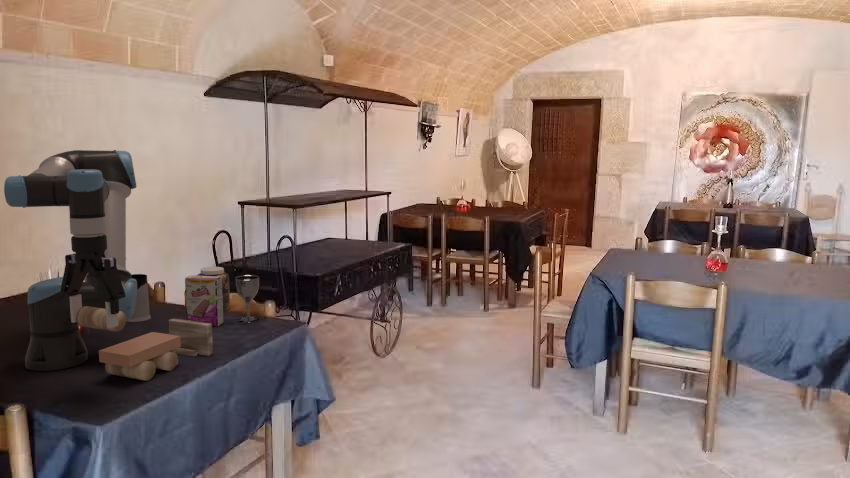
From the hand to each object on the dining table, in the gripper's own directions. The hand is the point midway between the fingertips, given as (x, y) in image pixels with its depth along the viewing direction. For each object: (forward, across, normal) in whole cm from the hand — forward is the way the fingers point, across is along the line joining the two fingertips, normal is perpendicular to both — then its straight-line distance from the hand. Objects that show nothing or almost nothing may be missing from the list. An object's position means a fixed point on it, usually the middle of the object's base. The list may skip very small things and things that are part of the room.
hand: (94, 324), depth 155 cm
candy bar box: (+17, +15, -57) cm, 61 cm away
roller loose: (+1, 0, 0) cm, 1 cm away
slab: (+12, 0, -14) cm, 18 cm away
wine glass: (+17, +6, -67) cm, 70 cm away
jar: (+18, +27, -75) cm, 81 cm away
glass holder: (+18, +44, -53) cm, 71 cm away
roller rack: (+17, 0, -20) cm, 26 cm away
